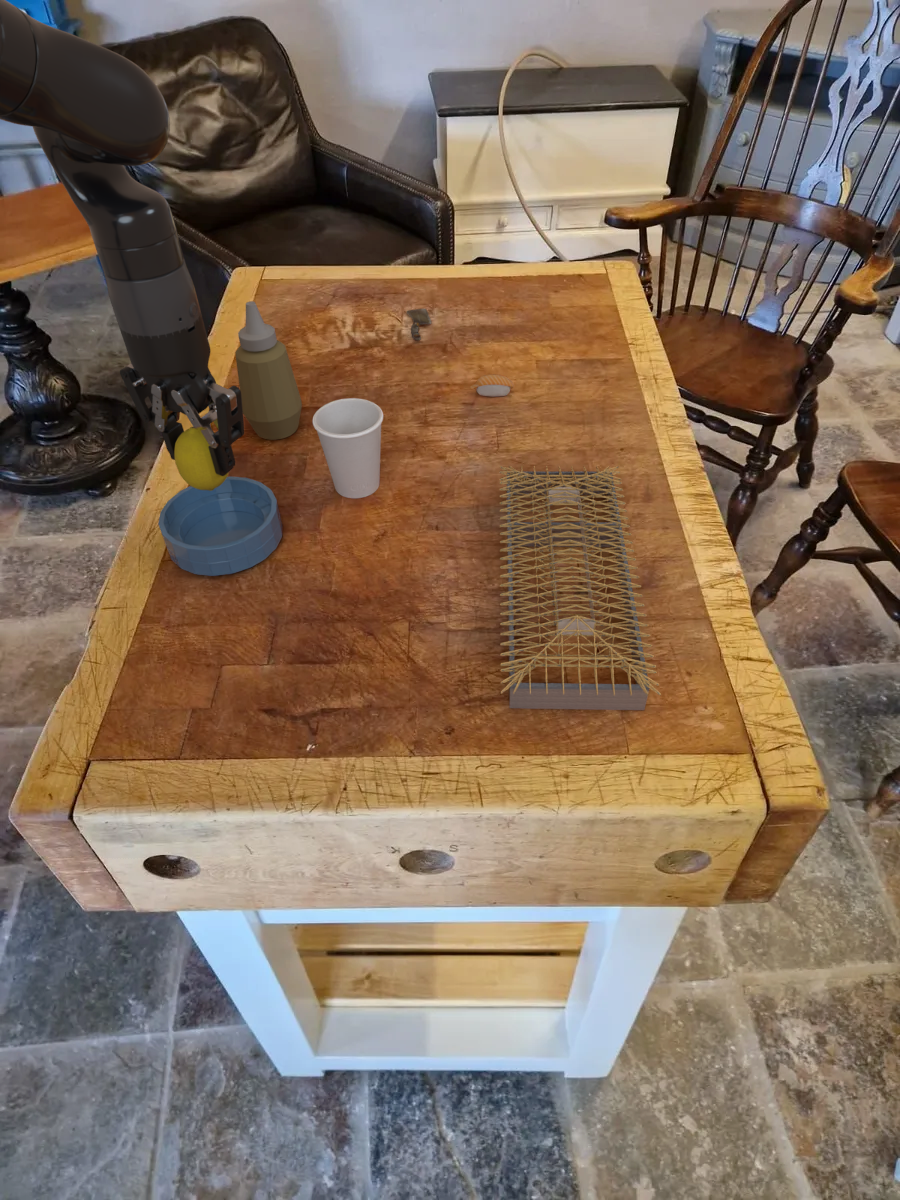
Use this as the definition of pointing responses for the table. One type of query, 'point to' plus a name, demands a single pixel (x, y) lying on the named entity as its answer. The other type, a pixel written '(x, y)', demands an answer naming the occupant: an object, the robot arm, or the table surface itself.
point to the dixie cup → (351, 444)
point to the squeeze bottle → (266, 379)
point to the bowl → (221, 527)
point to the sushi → (493, 385)
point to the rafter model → (572, 534)
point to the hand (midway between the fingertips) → (203, 463)
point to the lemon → (196, 461)
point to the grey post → (418, 321)
